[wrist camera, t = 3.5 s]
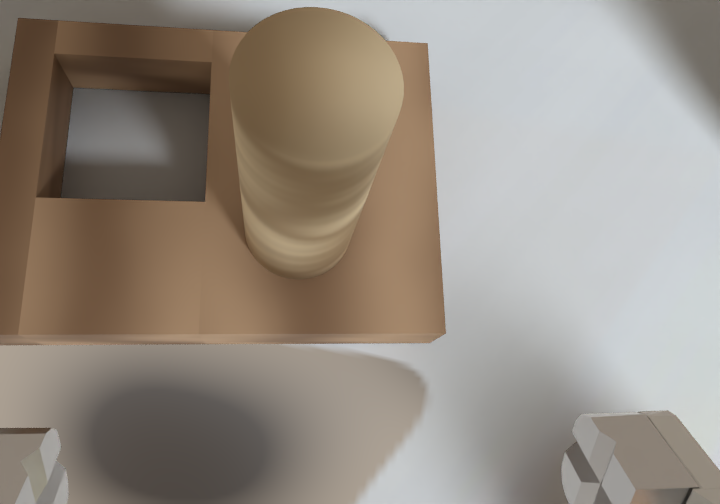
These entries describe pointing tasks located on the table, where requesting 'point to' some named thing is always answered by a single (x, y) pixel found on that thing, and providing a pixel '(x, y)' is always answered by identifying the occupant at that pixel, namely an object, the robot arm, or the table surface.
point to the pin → (309, 133)
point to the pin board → (195, 214)
